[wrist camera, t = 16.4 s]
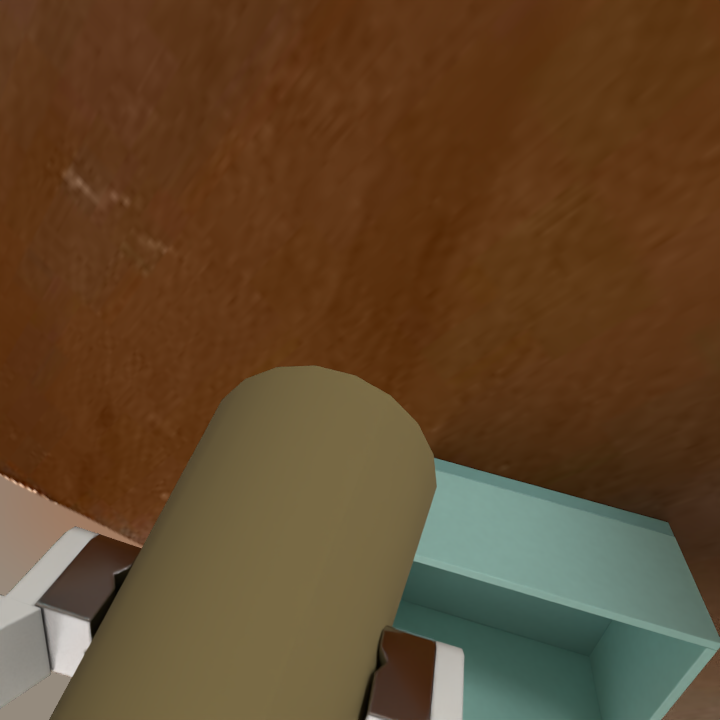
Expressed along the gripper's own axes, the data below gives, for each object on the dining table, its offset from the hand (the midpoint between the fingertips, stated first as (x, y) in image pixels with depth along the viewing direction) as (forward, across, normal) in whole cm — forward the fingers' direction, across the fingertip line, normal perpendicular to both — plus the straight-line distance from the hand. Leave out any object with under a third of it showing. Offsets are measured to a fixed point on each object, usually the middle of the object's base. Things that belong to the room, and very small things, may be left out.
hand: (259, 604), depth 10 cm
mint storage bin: (+16, -11, +11) cm, 23 cm away
